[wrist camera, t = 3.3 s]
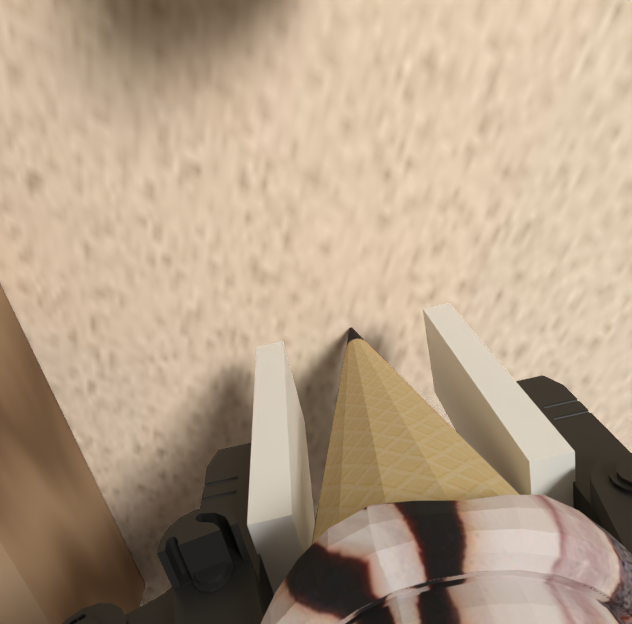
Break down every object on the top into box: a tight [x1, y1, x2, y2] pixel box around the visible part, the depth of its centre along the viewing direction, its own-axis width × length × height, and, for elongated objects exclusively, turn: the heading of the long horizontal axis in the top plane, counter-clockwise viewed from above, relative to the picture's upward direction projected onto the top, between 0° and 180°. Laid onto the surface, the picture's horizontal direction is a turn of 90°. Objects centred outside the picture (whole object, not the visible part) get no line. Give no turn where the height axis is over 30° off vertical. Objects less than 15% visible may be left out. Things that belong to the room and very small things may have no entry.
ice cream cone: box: [261, 328, 632, 624], centre depth 11 cm, size 6×6×15 cm
